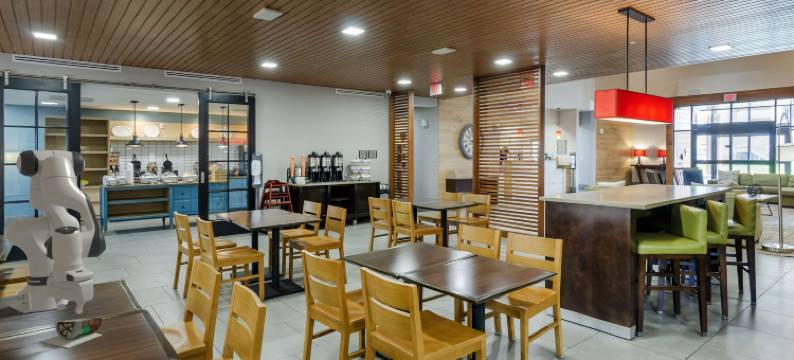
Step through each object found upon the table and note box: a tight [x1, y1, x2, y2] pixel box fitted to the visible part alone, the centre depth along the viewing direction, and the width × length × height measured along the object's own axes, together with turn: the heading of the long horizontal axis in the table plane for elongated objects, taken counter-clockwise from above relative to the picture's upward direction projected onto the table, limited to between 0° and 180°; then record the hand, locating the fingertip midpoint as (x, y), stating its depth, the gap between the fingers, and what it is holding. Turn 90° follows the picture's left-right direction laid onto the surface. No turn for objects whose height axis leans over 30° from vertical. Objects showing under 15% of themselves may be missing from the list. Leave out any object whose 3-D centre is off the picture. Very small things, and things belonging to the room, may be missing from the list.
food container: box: [54, 317, 103, 339], centre depth 166 cm, size 12×6×10 cm
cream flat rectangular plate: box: [41, 332, 103, 349], centre depth 164 cm, size 14×12×1 cm
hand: (69, 311), depth 163 cm, fingers open, 8 cm apart
